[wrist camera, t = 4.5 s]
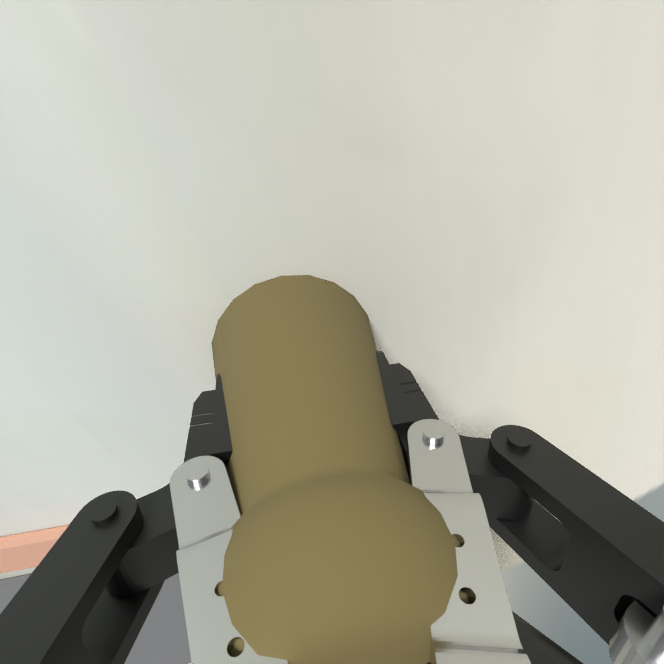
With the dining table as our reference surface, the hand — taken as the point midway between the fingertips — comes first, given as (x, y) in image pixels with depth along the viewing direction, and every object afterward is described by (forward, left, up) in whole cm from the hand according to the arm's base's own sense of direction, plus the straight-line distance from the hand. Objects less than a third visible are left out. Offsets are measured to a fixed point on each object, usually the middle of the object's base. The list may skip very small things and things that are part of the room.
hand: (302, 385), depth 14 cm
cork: (0, 0, -2) cm, 2 cm away
